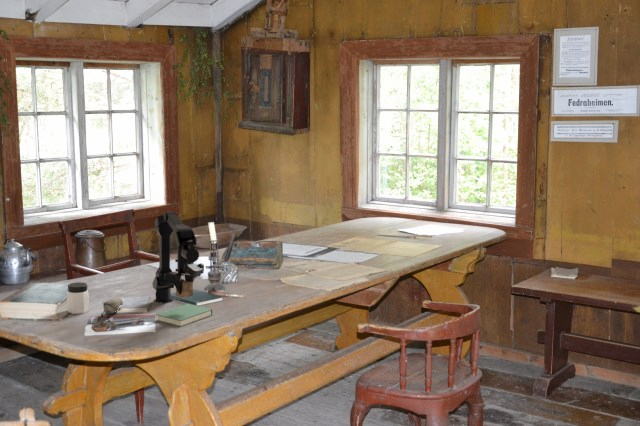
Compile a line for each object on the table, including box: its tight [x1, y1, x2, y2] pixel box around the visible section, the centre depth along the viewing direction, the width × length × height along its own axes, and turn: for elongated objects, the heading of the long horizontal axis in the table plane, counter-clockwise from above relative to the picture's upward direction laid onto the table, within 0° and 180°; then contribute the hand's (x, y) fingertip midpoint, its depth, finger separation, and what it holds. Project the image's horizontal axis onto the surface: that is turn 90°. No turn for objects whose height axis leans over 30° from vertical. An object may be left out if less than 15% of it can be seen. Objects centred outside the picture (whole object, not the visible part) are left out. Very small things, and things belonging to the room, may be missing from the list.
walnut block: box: [175, 279, 194, 299], centre depth 352 cm, size 5×5×6 cm
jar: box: [66, 281, 90, 315], centre depth 359 cm, size 9×8×12 cm
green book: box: [155, 303, 213, 327], centre depth 354 cm, size 20×14×3 cm
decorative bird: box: [100, 297, 124, 318], centre depth 357 cm, size 5×16×7 cm, turn 169°
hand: (184, 292), depth 352 cm, fingers closed on walnut block, 5 cm apart
